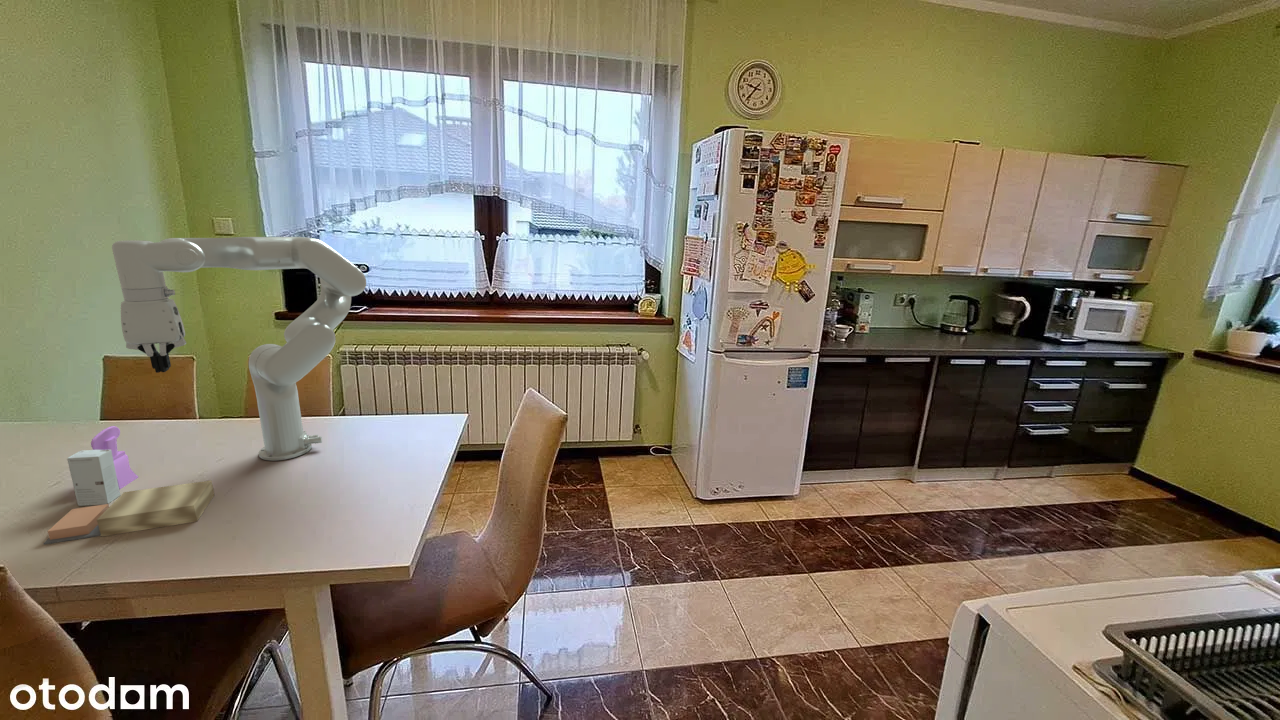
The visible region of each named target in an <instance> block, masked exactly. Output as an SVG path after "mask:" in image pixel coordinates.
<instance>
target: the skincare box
mask: <svg viewBox="0 0 1280 720" xmlns="http://www.w3.org/2000/svg"><path fill="white" fill-rule="evenodd" d="M66 460H67V464H68V468H69V472H70V476H71V481H72V482H71V483H72V486H73V489H74V494H75V499H76V503H77V506H78V507H81V506H97V505H104V504H111V502H114V501H116V500H117V499H118V498H119V497H120V496H121V491H120V489H119V486H118V481H117V476H116V471H115V466H114V461H113V456H112V451H111V450H93V449H90V450H89V449H88V450H87V449H86V450H84V449H83V450H82V449H81V450H79V451H77V452H76V453H74V454H72V455H70V456H68V457H67V458H66Z"/></svg>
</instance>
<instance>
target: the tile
mask: <svg viewBox="0 0 1280 720" xmlns="http://www.w3.org/2000/svg"><path fill="white" fill-rule="evenodd" d="M109 504H110V503H108V504H104V505H89V506H85V507H77V508H72V509H71V510H69V512H67V513H66V514H65V515H64V516H63V517H62V518H61V519H59V520H58V521H57V522H56V523H54V525H53V526H52V527H51V528H49V529H48V530H47V536H48V538H50V540H52V539H59V538H65V537H71V536H78V535H84V534H89V533H90V532H91V531H92V530H93V529H94V528H95V527H96V526H97V525H98V522H97V519H98V518H99V517H100V516H101V515H102V514H103V513H104V512H105V511H106V510H107V509H108V508H109V507H110V505H109Z"/></svg>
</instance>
